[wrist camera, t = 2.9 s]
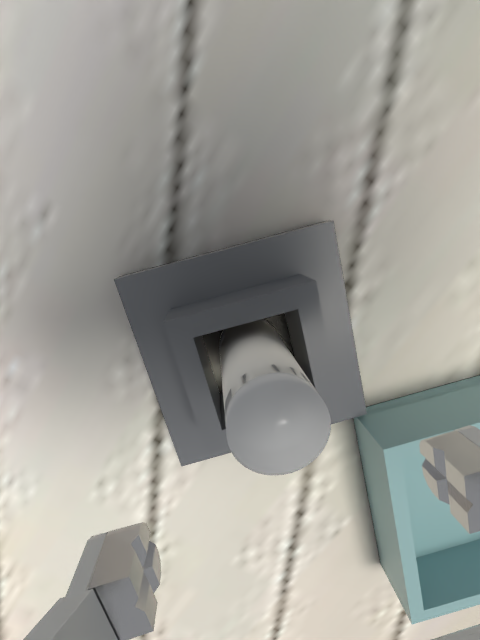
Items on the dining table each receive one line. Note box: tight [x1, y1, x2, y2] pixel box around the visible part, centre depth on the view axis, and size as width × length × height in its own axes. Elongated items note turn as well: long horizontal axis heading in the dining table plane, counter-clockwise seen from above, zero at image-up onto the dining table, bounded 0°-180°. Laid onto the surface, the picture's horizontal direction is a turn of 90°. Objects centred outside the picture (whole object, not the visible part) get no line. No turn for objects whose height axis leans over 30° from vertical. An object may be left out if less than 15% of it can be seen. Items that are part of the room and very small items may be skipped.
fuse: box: [219, 319, 331, 475], centre depth 17 cm, size 4×4×10 cm
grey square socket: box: [114, 221, 367, 466], centre depth 20 cm, size 13×13×4 cm
